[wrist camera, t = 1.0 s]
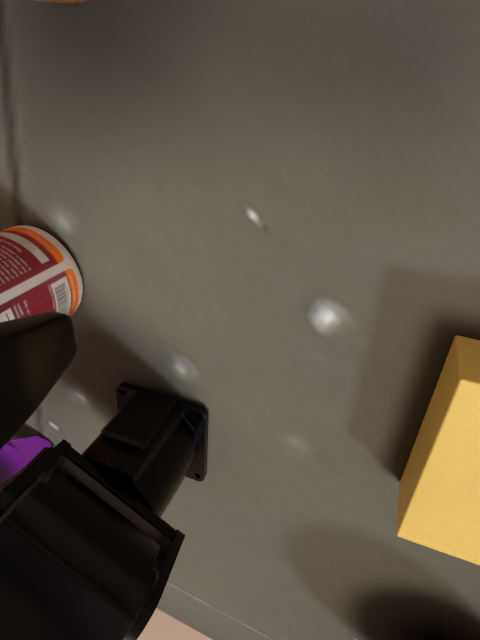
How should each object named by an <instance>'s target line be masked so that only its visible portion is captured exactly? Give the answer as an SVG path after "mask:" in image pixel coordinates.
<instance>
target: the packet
mask: <svg viewBox="0 0 480 640" xmlns="http://www.w3.org/2000/svg"><path fill="white" fill-rule="evenodd" d="M396 534H397V536H398V537H401V538H404V539H407V540H410V541H412V542H415V543H418V544H421V545H424V546H426V547H429V548H432V549H435V550H438V551H441V552H443V553H446V554H449V555H452V556H455V557H457V558H460V559H463V560H466V561H469V562H472V563H474V564H477V565H480V340H476V339H472V338H467V337H463V336H458V335H456V336H455V337H454V340H453V343H452V345H451V348H450V351H449V353H448V356H447V358H446V361H445V364H444V366H443V369H442V372H441V374H440V377H439V380H438V382H437V385H436V388H435V390H434V393H433V396H432V398H431V401H430V404H429V406H428V409H427V412H426V414H425V417H424V420H423V422H422V425H421V428H420V430H419V433H418V436H417V438H416V441H415V444H414V446H413V449H412V452H411V454H410V457H409V459H408V462H407V465H406V467H405V470H404V473H403V475H402V478H401V481H400V486H399V501H398V516H397V531H396Z"/></svg>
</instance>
